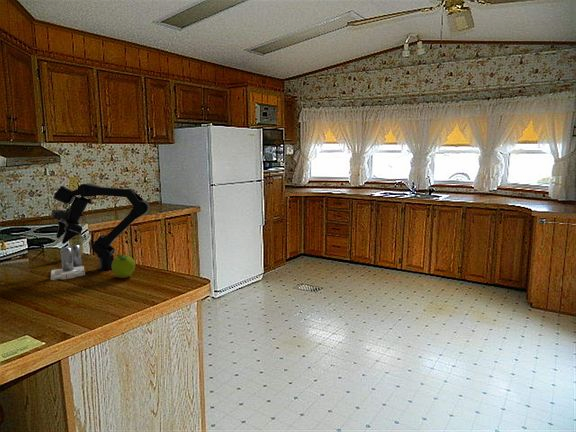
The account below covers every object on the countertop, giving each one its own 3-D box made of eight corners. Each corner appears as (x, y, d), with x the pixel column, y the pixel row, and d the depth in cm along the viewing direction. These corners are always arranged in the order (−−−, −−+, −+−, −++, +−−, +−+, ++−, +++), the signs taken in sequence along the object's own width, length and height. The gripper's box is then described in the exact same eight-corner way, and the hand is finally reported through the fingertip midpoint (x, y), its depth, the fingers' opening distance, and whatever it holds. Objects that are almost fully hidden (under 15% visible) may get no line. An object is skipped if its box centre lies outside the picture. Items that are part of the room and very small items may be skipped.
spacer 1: (75, 269, 181) (73, 247, 179) (66, 272, 177) (63, 249, 175) (70, 268, 183) (67, 246, 181) (60, 270, 179) (58, 248, 178)
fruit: (116, 281, 167) (114, 258, 166) (110, 276, 174) (108, 254, 173) (139, 277, 173) (137, 254, 172) (131, 272, 180) (129, 250, 179)
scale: (83, 268, 189) (83, 263, 188) (85, 276, 176) (84, 271, 175) (51, 272, 183) (51, 267, 182) (50, 281, 169) (50, 276, 169)
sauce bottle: (73, 259, 206) (69, 221, 203) (67, 257, 210) (63, 220, 207) (86, 256, 211) (82, 219, 208) (80, 255, 215) (76, 218, 212)
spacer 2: (83, 265, 194) (81, 245, 193) (74, 267, 191) (72, 246, 189) (78, 264, 197) (76, 244, 195) (69, 266, 193) (67, 246, 191)
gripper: (53, 197, 182) (36, 229, 181) (64, 206, 169) (46, 240, 168) (77, 207, 190) (61, 237, 189) (89, 216, 177) (72, 248, 175)
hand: (60, 240), depth 180 cm, fingers open, 9 cm apart
